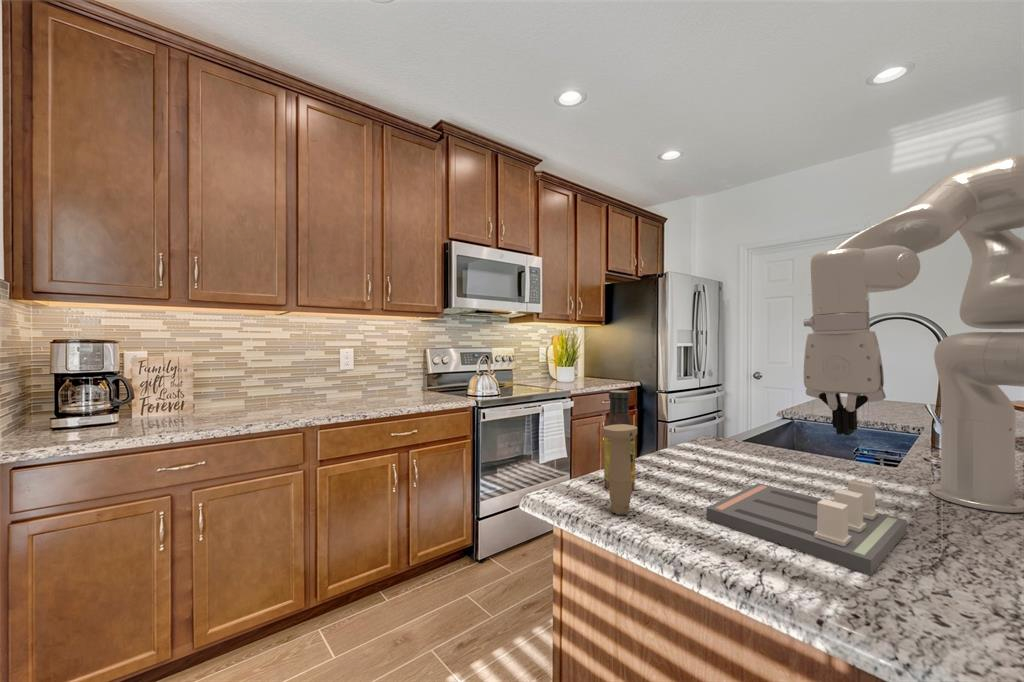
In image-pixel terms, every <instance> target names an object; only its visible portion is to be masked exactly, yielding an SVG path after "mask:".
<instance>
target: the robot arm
mask: <svg viewBox="0 0 1024 682" xmlns="http://www.w3.org/2000/svg"><path fill="white" fill-rule="evenodd" d="M1022 228H1024V154H1014V155H1009V156H1005V157H1002V158H998V159H994V160H991V161H988V162H986V163H981V164H977V165H974V166H971V167H967V168H964V169H961V170H958V171H954V172H952V173H949V174H947V175H945V176H943V177H942V178H940V179H938V180H937V181H936V182H934V184H933V185H931V186H930V187H928V189H926V190H924V192H923V193H922V194H920V195H919V196H918V197H917V198H915V200H913V201H912V202H911V203H910V204H908V205H907V206H906V207H905V208H904V209H903V210H901V211H900V212H897V213H895V214H893V215H891V216H890V217H889V216H888V217H886V218H885V219H883V220H882V221H879V222H878V223H876V224H873V225H872V226H870V227H868V228H866V229H864V230H862V231H860V232H858V233H856V234H854V235H853V236H851V237H849V238H848V239H846V240H844V241H843V242H841V244H838V246H836V247H835V248H834V249H830V250H825V251H820V252H818V253H816V254H814V255H813V256H812V257H811V260H810V284H811V286H810V287H811V304H812V315H811V316H810V317H809V318H807V319H806V318H805V319H804V320H803V327H809V328H811V331H813V333H807V336H806V341H805V349H804V359H803V385H804V387H805V394H806V395H807V396H808V397H812V398H815V399H819V400H821V401H822V402H823V403H824V404H826V406H828V408H829V409H830V410H831V414H832V427H833V428H835V430H836V431H835V432H836V435H844V436H848V437H849V436H851V435H852V434H853V433H854V432H855V431H856V430H857V429H858V414H857V413H858V412H857V411H858V409H860V408H861V407H862V406H864V404H866V403H874V402H882V401H884V400H885V399H886V397H887V396H886V393H885V391H884V383H885V380H884V379H885V378H884V377H885V376H884V375H885V374H884V367H883V361H882V355H881V349H880V348H881V347H880V344H879V339H878V337H877V334H876V332H875V331H873V330H872V331H871V326H870V325H871V323H870V304H869V301H870V300H869V299H870V298H869V294H870V293H882V292H891V291H897V290H899V289H903V288H905V287H907V286H908V285H910V284H912V283H913V282H914V281H915V280H916V279H917V277H918V276H919V275H920V271H921V261H920V258H919V256H918V254H920V253H923V252H926V251H929V250H931V249H933V248H936V247H938V246H940V245H943V243H946V241H948V240H949V239H950V238H951V237H952V236H954V235H955V233H957V232H959V233H960V235H961V236H962V238H963V241H964V242H965V243H966V246H967V247H968V249H969V251H970V254H971V260H972V261H971V266H970V269H969V270H970V271H969V274H968V277H967V280H966V284H965V287H964V290H963V293H962V297H961V301H960V305H959V317H960V320H961V322H963V324H964V325H967V326H968V327H971V328H975V329H980V330H981V329H982V330H1024V239H1022V238H1020V237H1019V236H1017V234H1015V233H1014V232H1013V231H1011V230H1017V229H1022ZM933 353H934V354H933V355H934V356H933V357H934V358H933V359H934V364H935V368H936V373H937V376H938V380H939V388H940V405H941V407H940V409H941V411H940V412H941V416H940V417H941V419H940V422H941V423H940V425H941V426H940V433H941V434H940V440H941V441H940V482H938V483H932V484H931V485H929V492H930V494H932V496H935V497H937V498H938V499H941V500H944V501H947V502H949V503H952V504H956V505H960V506H964V507H968V508H973V509H977V510H978V509H979V510H983V511H991V512H999V513H1011V514H1012V513H1013V514H1014V513H1024V499H1023V498H1020V497H1018V496H1016V410H1015V409H1016V408H1015V406H1014V404H1013V403H1012V400H1011V399H1010V398H1009V396H1007V394H1006V393H1005V392H1004V391H1003V390H1002V389H1001V387H1000V386H1009V387H1023V388H1024V331H1015V332H1014V331H1013V332H1012V331H1010V332H1009V331H1005V332H1004V331H973V332H962V333H961V332H960V333H956V334H951V335H949V336H946V337H944V338H942V339H941V340H940V341H939V342H938V343H937V345H936V346H935V348H934V352H933ZM841 394H843V395H844V394H847V397H846V402H845V403H846V404H845V406H844V404H843V401H842V397H841Z"/></svg>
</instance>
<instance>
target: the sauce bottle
mask: <svg viewBox="0 0 1024 682" xmlns="http://www.w3.org/2000/svg"><path fill="white" fill-rule="evenodd" d="M608 399H609V414H608V416H607V417H606V419H605V422H604V426H603V427H605V426H609V425H617V424H626V425H632V426H634V424H633V423H634V422H633V421H632V418H631V415H630V412H629V411H630V410H629V399H630V392H629V391H628V390H619V389H618V390H609V391H608ZM610 449H611V442H610V439H608V438H607V437H605V436H604V435H603V471H604V472H603V473H604V474H603V478H604V486H605V487H606V488H607V489H608V490H609V467H610ZM630 461H631V477H632V487H631V488H632V490H631V491H633V490H634V489H635V485H636V482H635V481H636V436H635V437H634V438H632V439H631V440H630Z"/></svg>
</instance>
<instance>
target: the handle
mask: <svg viewBox="0 0 1024 682" xmlns="http://www.w3.org/2000/svg"><path fill="white" fill-rule="evenodd" d="M604 426H605V425H604ZM604 426H603V427H602V435H603V437H604V436H605V437H607V438H608V439H610V442H611V449H610V467H609V489H608V491H609V492H608V493H609V502H610V503H611V504H610V510H611V513H613V514H616V515H618V516H620V515H621V516H622V515H625V516H626V515H629V511H630V505H631V499H632V491H633V490H632V488H631V487H632V477H631V461H630V440H631V439H632V438H634V437H635V438H636V436H637V435H638V427H637V426H636V425H633V426H632V425H626V424H617V425H609V426H605V427H604Z"/></svg>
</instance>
